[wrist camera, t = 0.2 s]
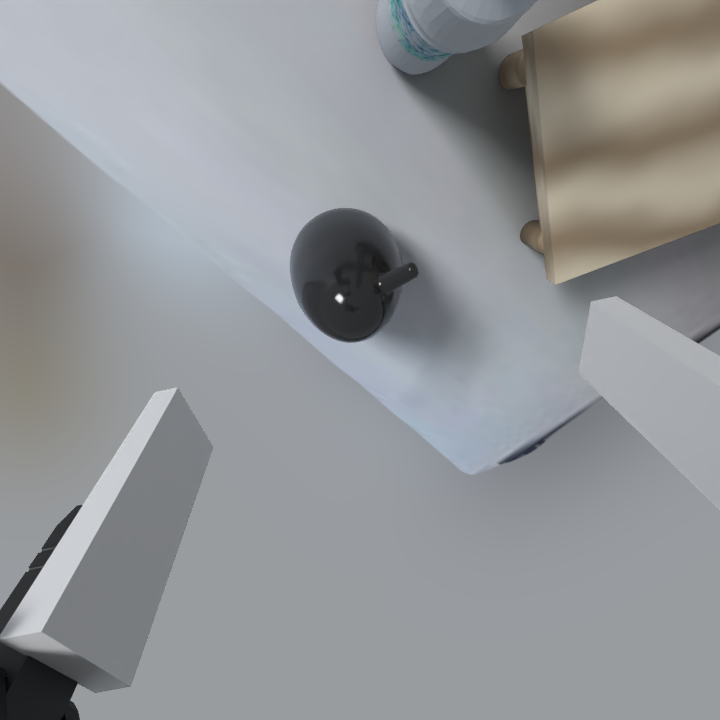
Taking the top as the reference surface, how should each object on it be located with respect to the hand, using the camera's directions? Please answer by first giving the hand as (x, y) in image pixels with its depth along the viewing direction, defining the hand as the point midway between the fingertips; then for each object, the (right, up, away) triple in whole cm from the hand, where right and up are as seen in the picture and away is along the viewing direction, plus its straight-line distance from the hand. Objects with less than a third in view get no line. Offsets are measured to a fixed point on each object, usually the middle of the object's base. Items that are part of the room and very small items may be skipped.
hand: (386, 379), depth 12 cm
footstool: (+21, +22, +21) cm, 37 cm away
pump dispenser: (-2, +12, +25) cm, 28 cm away
